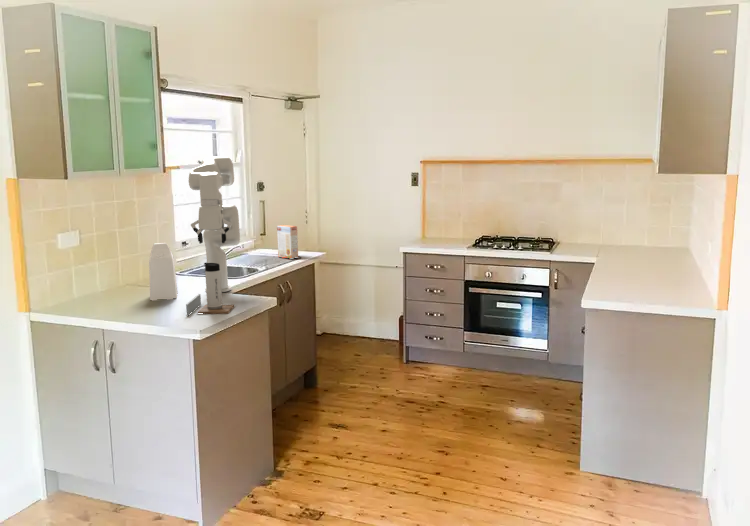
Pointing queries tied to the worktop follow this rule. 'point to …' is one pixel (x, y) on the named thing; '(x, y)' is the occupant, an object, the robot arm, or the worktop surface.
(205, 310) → the walnut board
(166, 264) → the milk
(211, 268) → the travel mug
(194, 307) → the acrylic wall
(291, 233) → the cracker box
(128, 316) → the worktop surface
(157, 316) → the worktop surface
